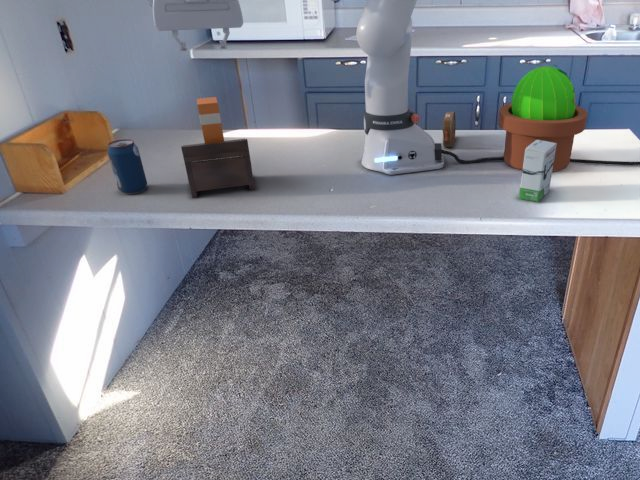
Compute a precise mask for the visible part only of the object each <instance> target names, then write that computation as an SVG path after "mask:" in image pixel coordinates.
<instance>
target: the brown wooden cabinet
mask: <svg viewBox="0 0 640 480" xmlns="http://www.w3.org/2000/svg"><path fill="white" fill-rule="evenodd" d="M180 149H181V153H182V157H183V163H184V167H185V171H186V176H187V182H188V185H189V190H190V194H191V198H192V199H195V198H198V192H203V191H210V190H218V189H219V190H220V189H225V188H226V189H227V188H233V187H241V186H248V189H249V191H255V189H256V187H255V181H254V174H253V166H252V160H251V154H250V148H249V141H248V138H238V139H230V140H224V141H222V142H213V143H205V142H202V143H201V142H200V143H192V144H184V145H181V146H180Z"/></svg>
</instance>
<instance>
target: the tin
mask: <svg viewBox="0 0 640 480" xmlns="http://www.w3.org/2000/svg"><path fill="white" fill-rule="evenodd" d="M442 135H443V136H442V146H443V147H444V148H453V147H454V144H455V140H456V111H454V110H453V111H446V112H445V113H444V115H443V119H442Z"/></svg>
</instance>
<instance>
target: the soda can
mask: <svg viewBox="0 0 640 480" xmlns="http://www.w3.org/2000/svg"><path fill="white" fill-rule="evenodd" d="M107 145H108V146H107V147H108V148H107V151H106V152H107V156H108V159H109V163H110V166H111V169H112V173H113V177H114V180H115V183H116V187H117V189H118V190H119V191H120V192H121V193H122V194H124V195H137V194H140V193H142V192H144V191H145V190H146V189H147V186H148V181H147V177H146V173H145V169H144V166H143V162H142V158H141V154H140V149H139V147H138V146H137V144H136V143H135V141H134V140H133V139H131V138H129V139H128V138H127V139H126V138H124V139H123V138H122V139H116V140H113V141H110V142H108V144H107Z"/></svg>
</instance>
